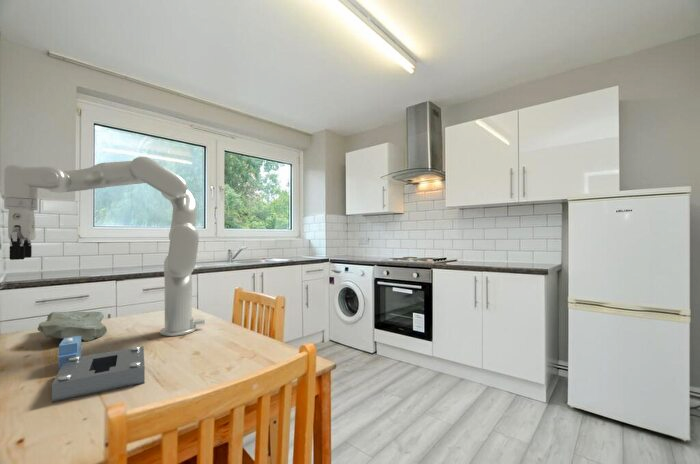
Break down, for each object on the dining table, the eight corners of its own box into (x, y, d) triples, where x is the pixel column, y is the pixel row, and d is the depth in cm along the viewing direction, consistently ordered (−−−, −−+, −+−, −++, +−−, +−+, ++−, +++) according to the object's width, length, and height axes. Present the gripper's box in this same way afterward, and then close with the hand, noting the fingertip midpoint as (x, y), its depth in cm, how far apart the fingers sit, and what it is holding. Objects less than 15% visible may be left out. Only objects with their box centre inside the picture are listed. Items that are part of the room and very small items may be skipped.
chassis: (143, 360, 100) (143, 344, 100) (144, 383, 85) (144, 364, 85) (66, 374, 91) (66, 356, 91) (51, 402, 75) (51, 381, 75)
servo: (82, 358, 102) (81, 331, 102) (76, 371, 93) (76, 341, 93) (65, 361, 100) (65, 333, 100) (57, 374, 90) (57, 343, 90)
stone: (110, 325, 120) (35, 327, 108) (106, 348, 120) (31, 352, 107) (106, 307, 142) (43, 307, 129) (102, 326, 142) (39, 328, 129)
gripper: (31, 203, 100) (31, 259, 100) (42, 207, 114) (42, 256, 114) (-5, 202, 96) (-5, 261, 96) (11, 206, 110) (11, 257, 110)
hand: (21, 258), depth 105 cm, fingers open, 9 cm apart
